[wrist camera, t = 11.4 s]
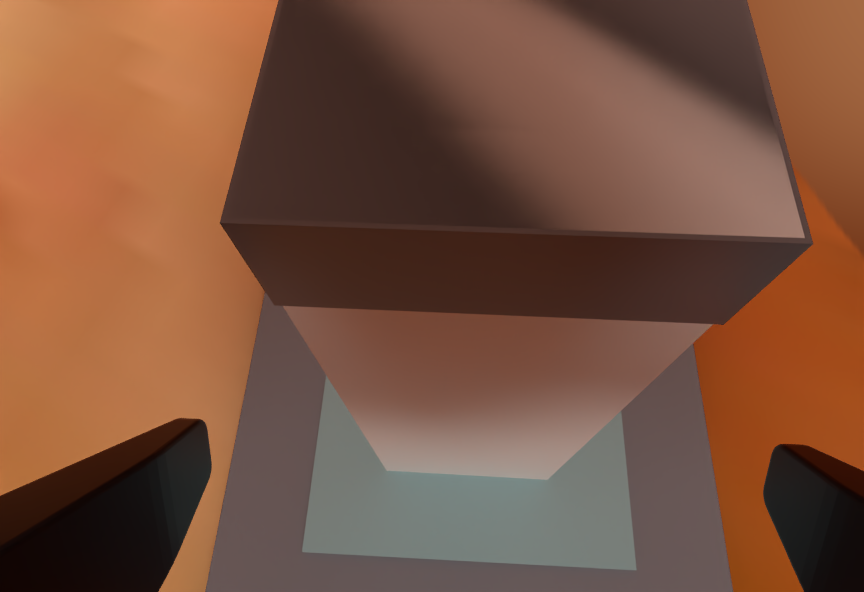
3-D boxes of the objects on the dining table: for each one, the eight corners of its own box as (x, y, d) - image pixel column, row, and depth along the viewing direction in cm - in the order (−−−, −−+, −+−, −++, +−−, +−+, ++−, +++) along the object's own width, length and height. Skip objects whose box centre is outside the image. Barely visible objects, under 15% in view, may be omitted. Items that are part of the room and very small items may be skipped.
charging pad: (730, 681, 15) (751, 689, 14) (208, 648, 16) (190, 653, 14) (662, 229, 21) (673, 211, 20) (289, 219, 22) (281, 201, 21)
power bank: (549, 481, 16) (813, 244, 4) (384, 472, 16) (220, 222, 5) (544, 329, 18) (716, -112, 6) (398, 322, 18) (308, -113, 7)
